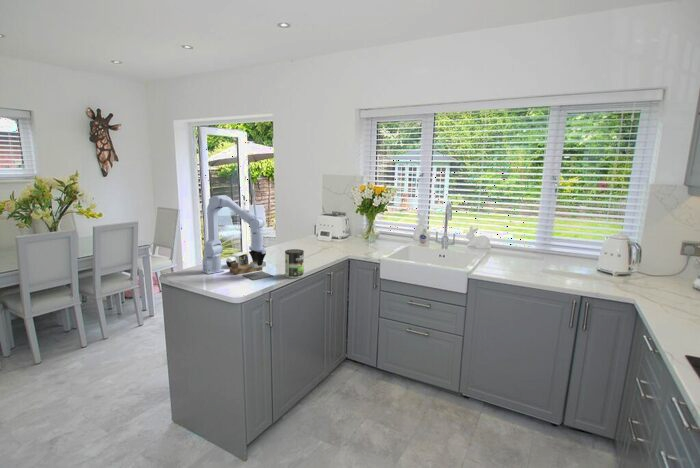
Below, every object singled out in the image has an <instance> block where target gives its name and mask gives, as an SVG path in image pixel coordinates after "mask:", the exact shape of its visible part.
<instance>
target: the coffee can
mask: <svg viewBox="0 0 700 468" xmlns="http://www.w3.org/2000/svg"><path fill="white" fill-rule="evenodd" d="M304 253H305V250H303V249H297V248H296V249H295V248H294V249H286V250H285V251H284V256H285V257H284V259H285V260H284V261H285V262H284V263H285V267H284V268H285V269H284V270H285V273H284V275H285V276H284V277H286V278H289V279H300V278H303V277H304V267H305V266H304V263H305V262H304V256H305V255H304Z"/></svg>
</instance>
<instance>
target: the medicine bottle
mask: <svg viewBox="0 0 700 468" xmlns="http://www.w3.org/2000/svg"><path fill="white" fill-rule="evenodd" d="M249 261H250V260H249V252H248V253H247V252H243V251H238V252H235V253H232V254H230V256H229V257H227V258H226V260H225V263H226V265H227V267H228V268H229V267H231V263H233V262H237V263H238V266H240V265H246V264H250V262H249Z"/></svg>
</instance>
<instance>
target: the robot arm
mask: <svg viewBox="0 0 700 468" xmlns="http://www.w3.org/2000/svg"><path fill="white" fill-rule="evenodd" d="M222 208H229V209H230V210H232V211H233V212H234V213H236V214H238V215H239V218H240V219H241V220H243V221H244V222H245V223H246V224H248V225H249V228H250V230H251V245H250V246H248V249H249V251H248V254H249V255H250V257H251V260H252V261H257V262H258V266H261V265H262V263H263V261H264V259H265V257H266V255H267V250H266V249H265V247H264V246H263V244H264V242H263V241H264V240H263V239H264V238H263V227H264V226H265V221H264V219H263V218H262V217H258V215H255V214H253V213H252V212H251V209H243V208H242V207H241V206H240V205H238V203H236V202H235V201H234V200H232V198H231V197H229V196H228V195H226V194H222V195H219V194H218V195H212V196H211V197H210V198H209V199H208V205H207V208H206V215H207V216H206V217H207V235H208V237H207V241H206V242H205V243H204V245H205V246H204V250H203V254H204V255H205V256H206V257H203V258H202V261H201V262H202V273H205V274H207V275H210V274H215V273H216V274H217V273H222V272H225V270H224V269H222V259H221V258H222V253H223V251H224V247H223V245H222V241H221V240H220V239H219V213H218V212H219V211H220V210H222ZM252 261H251V262H252Z"/></svg>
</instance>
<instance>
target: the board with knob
mask: <svg viewBox="0 0 700 468" xmlns="http://www.w3.org/2000/svg"><path fill="white" fill-rule="evenodd" d="M228 268H229V273H230V274H232V275H235V276H237V275H244V274H249V273H254V272H260V271H263V267H259V268H253V267H250V263H249V264H246V265H240V266H238V263H237V262H233V263H231V267H228Z"/></svg>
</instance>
